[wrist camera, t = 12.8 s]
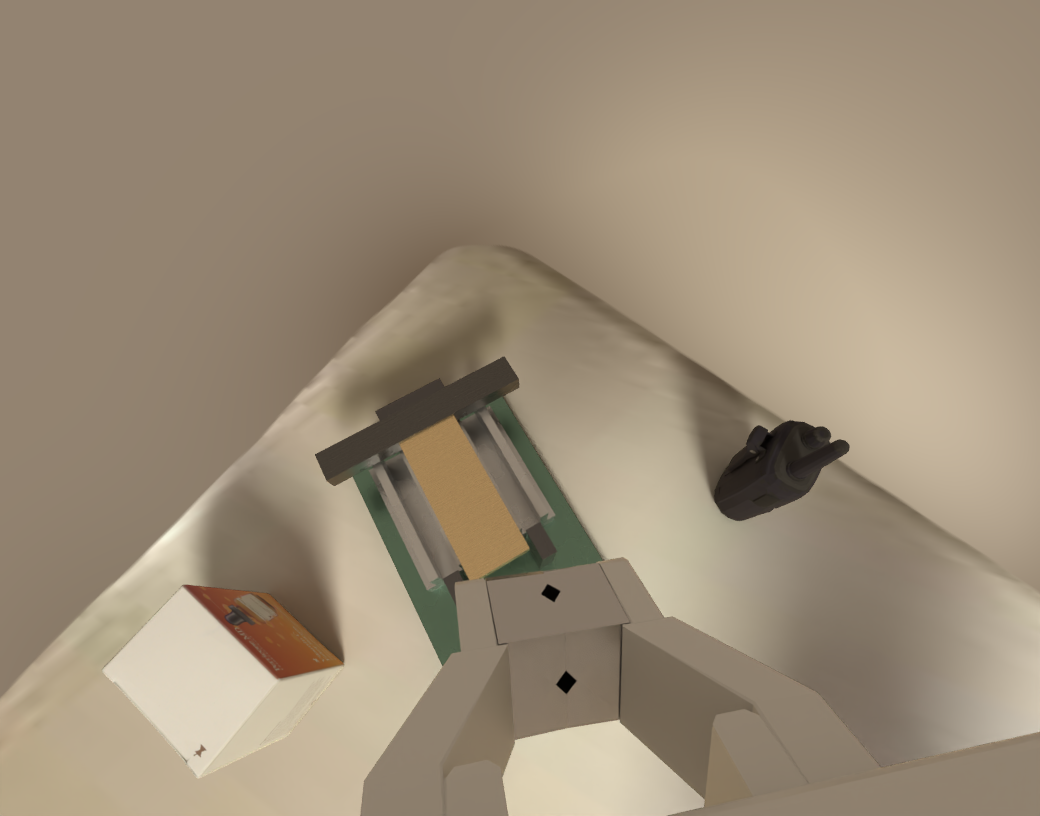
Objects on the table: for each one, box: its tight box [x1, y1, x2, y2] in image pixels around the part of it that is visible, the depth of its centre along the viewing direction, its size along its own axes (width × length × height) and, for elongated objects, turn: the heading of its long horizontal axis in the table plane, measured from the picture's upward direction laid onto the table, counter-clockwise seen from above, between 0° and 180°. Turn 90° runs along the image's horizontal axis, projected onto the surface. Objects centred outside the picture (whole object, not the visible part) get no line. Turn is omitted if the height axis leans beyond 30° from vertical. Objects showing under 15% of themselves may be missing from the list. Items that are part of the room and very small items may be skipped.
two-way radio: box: [714, 421, 849, 521], centre depth 35 cm, size 6×4×15 cm
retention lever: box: [315, 357, 530, 580], centre depth 35 cm, size 1×14×12 cm
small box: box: [102, 585, 344, 778], centre depth 33 cm, size 8×6×10 cm
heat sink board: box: [353, 378, 603, 666], centre depth 37 cm, size 19×13×8 cm
